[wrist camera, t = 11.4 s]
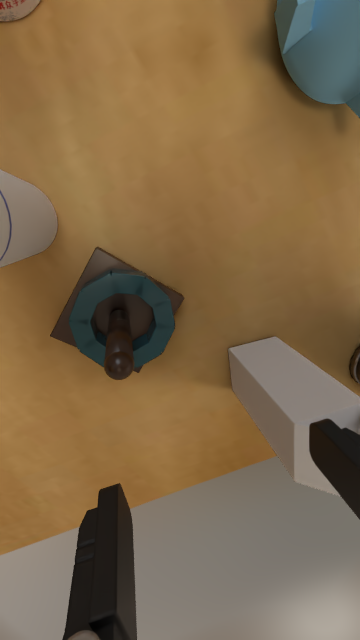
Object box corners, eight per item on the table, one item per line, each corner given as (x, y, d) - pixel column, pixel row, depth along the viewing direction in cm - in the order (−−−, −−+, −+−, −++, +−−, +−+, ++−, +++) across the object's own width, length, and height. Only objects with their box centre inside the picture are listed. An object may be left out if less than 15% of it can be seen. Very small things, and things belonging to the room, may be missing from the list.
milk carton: (231, 390, 39) (324, 526, 21) (227, 347, 36) (328, 463, 19) (276, 377, 40) (399, 498, 22) (274, 335, 37) (414, 434, 20)
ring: (187, 297, 31) (193, 304, 28) (141, 371, 33) (143, 383, 30) (102, 248, 27) (100, 250, 24) (56, 335, 29) (50, 345, 26)
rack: (182, 294, 32) (222, 340, 20) (137, 367, 34) (148, 451, 22) (97, 246, 28) (79, 264, 16) (52, 331, 30) (5, 407, 18)
